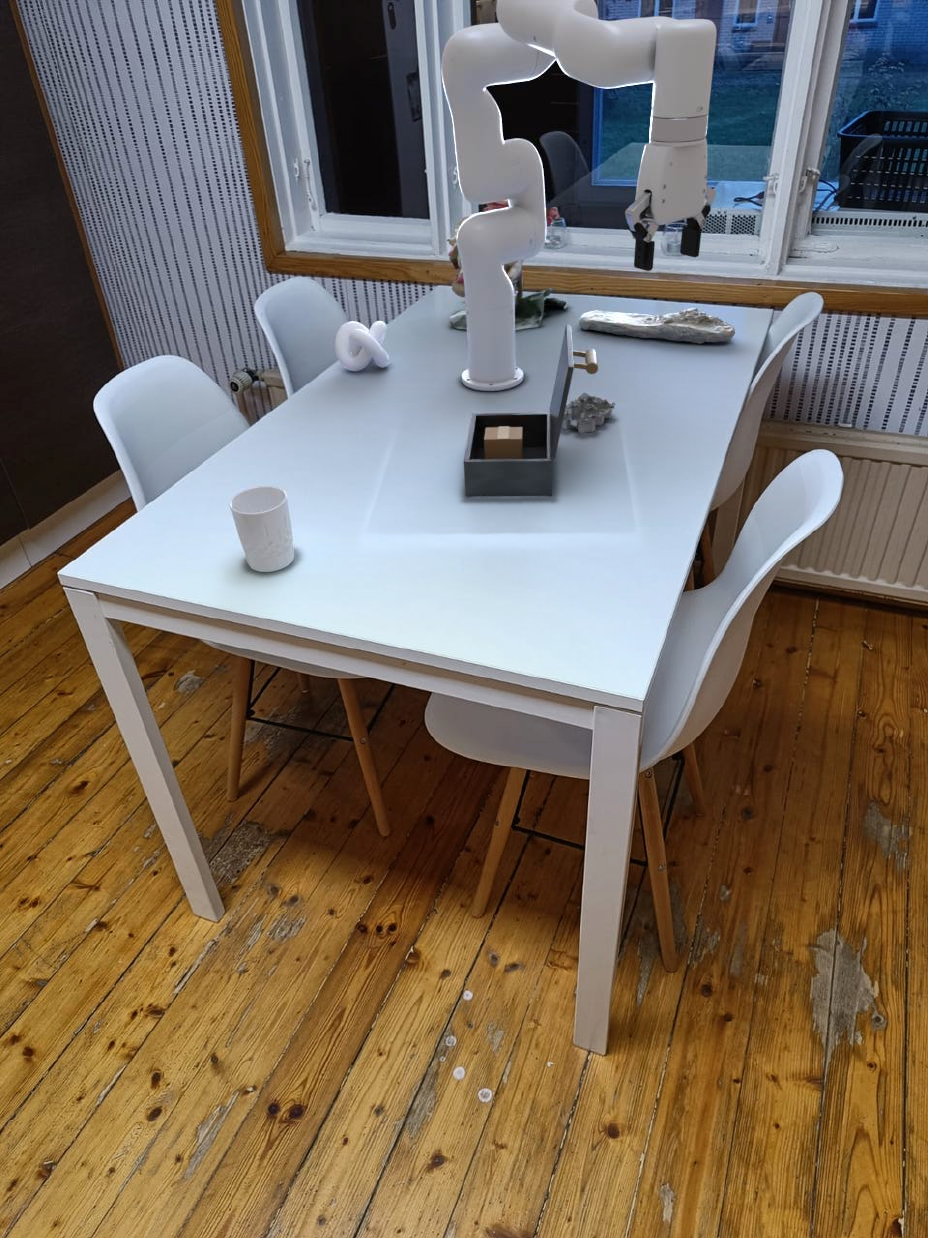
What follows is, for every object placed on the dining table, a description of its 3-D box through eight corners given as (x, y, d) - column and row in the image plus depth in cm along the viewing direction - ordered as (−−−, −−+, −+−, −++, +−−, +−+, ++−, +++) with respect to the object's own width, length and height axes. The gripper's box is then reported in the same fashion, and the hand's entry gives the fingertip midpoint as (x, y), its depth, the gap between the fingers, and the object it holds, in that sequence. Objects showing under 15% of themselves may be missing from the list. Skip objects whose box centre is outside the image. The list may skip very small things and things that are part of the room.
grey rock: (588, 439, 151) (588, 418, 149) (552, 430, 155) (552, 408, 153) (618, 417, 158) (619, 396, 155) (583, 409, 162) (584, 388, 159)
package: (485, 475, 141) (484, 438, 137) (487, 463, 144) (485, 426, 140) (522, 475, 140) (521, 438, 136) (522, 462, 144) (522, 426, 140)
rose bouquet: (465, 296, 221) (458, 166, 203) (574, 304, 212) (577, 169, 194) (423, 328, 203) (412, 189, 185) (541, 339, 193) (541, 193, 175)
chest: (465, 500, 136) (463, 461, 132) (473, 449, 150) (471, 413, 146) (551, 500, 135) (552, 460, 131) (551, 448, 149) (551, 412, 145)
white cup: (247, 547, 128) (233, 488, 122) (300, 543, 128) (288, 483, 122) (241, 577, 122) (225, 516, 116) (296, 572, 122) (284, 511, 116)
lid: (568, 366, 122) (603, 371, 122) (565, 324, 136) (597, 329, 136) (549, 457, 130) (582, 462, 130) (549, 409, 145) (578, 413, 145)
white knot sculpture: (359, 352, 192) (354, 312, 187) (406, 358, 188) (402, 317, 182) (332, 370, 184) (325, 328, 179) (380, 377, 180) (375, 334, 174)
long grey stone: (587, 324, 203) (573, 340, 196) (587, 301, 200) (572, 317, 193) (739, 331, 189) (728, 349, 182) (740, 307, 185) (730, 324, 179)
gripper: (700, 119, 123) (687, 246, 133) (612, 136, 115) (606, 269, 125) (742, 123, 118) (725, 254, 128) (653, 141, 110) (643, 279, 120)
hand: (666, 261), depth 127 cm, fingers open, 9 cm apart
